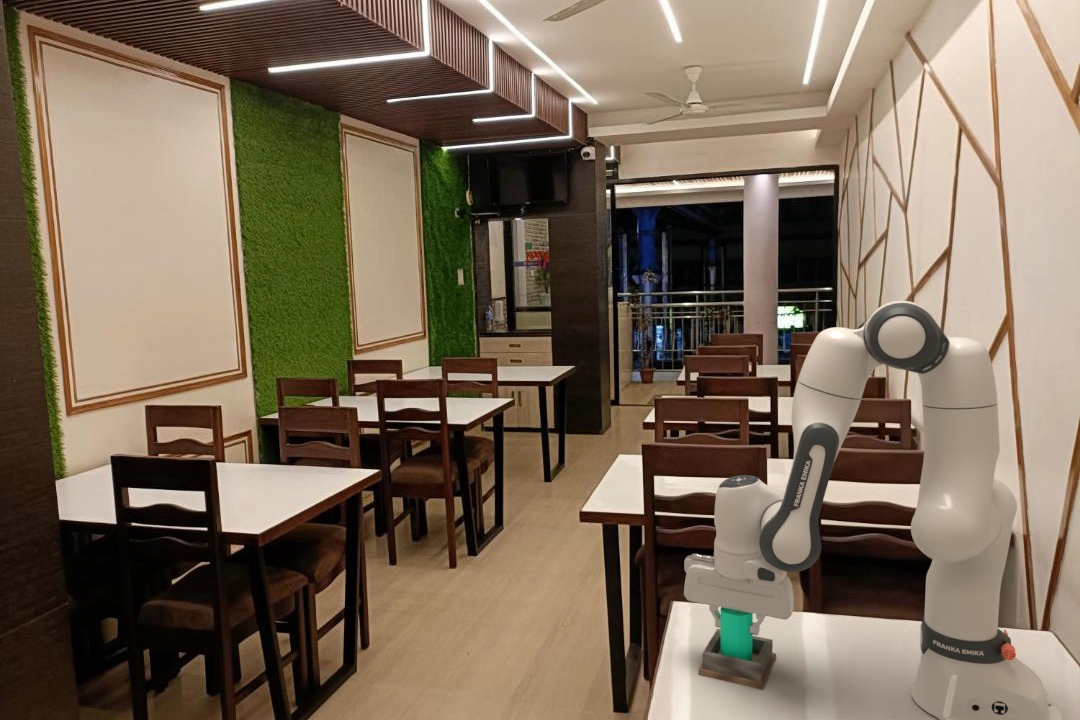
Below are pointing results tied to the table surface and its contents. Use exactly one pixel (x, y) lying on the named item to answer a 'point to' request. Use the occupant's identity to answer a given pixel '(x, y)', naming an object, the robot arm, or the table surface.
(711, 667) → the holder
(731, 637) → the candle
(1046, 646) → the table surface
